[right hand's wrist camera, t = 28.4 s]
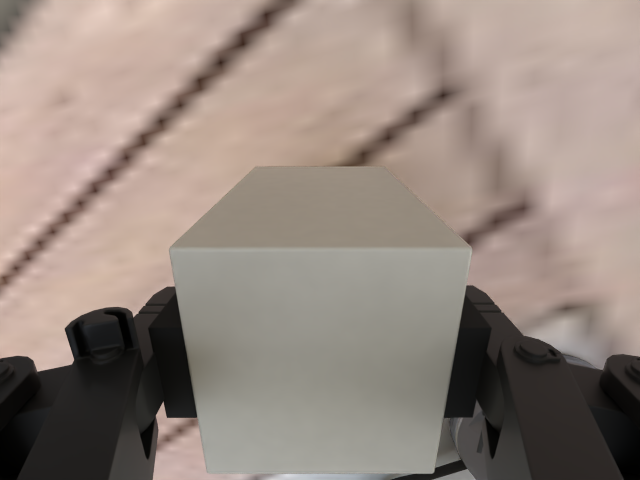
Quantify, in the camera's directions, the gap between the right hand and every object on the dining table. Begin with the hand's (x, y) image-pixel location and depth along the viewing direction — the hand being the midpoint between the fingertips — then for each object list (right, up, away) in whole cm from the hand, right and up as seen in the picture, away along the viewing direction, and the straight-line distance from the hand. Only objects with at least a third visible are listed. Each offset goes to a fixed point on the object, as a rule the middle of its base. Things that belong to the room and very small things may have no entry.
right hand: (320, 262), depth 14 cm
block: (0, +1, +3) cm, 4 cm away
